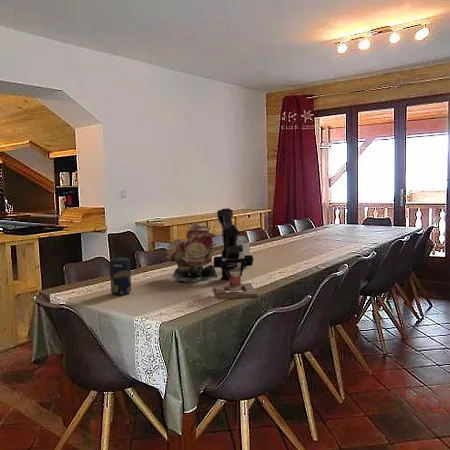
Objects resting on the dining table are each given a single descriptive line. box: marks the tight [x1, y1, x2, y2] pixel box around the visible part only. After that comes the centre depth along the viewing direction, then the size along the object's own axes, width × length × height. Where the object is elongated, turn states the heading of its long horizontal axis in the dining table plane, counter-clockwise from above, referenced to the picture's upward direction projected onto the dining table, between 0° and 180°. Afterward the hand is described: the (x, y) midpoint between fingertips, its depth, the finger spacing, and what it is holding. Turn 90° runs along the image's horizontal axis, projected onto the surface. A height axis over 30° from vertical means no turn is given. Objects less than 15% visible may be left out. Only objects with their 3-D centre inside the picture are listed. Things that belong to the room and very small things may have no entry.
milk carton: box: [235, 235, 251, 270], centre depth 264 cm, size 7×7×19 cm
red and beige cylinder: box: [228, 268, 242, 292], centre depth 208 cm, size 6×6×9 cm
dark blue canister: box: [108, 256, 132, 296], centre depth 211 cm, size 10×10×18 cm
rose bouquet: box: [164, 222, 218, 285], centre depth 239 cm, size 26×29×30 cm
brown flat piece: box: [213, 282, 259, 300], centre depth 208 cm, size 20×18×2 cm
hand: (235, 276), depth 206 cm, fingers closed on red and beige cylinder, 5 cm apart
